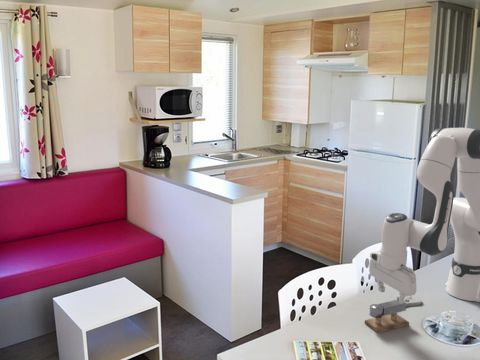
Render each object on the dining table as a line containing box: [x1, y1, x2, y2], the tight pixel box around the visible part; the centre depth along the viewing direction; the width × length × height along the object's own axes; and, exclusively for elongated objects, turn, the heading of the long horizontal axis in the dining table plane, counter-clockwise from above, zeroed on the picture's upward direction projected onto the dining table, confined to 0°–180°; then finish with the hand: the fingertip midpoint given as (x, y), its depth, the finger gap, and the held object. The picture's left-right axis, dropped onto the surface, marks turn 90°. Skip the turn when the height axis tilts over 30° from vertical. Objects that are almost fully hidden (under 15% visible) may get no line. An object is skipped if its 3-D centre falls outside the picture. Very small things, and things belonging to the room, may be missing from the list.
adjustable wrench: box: [382, 295, 422, 316], centre depth 179 cm, size 25×6×2 cm, turn 120°
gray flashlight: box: [369, 299, 407, 318], centre depth 165 cm, size 14×4×3 cm, turn 114°
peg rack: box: [364, 313, 410, 334], centre depth 166 cm, size 14×7×5 cm, turn 114°
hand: (390, 296), depth 165 cm, fingers open, 8 cm apart
